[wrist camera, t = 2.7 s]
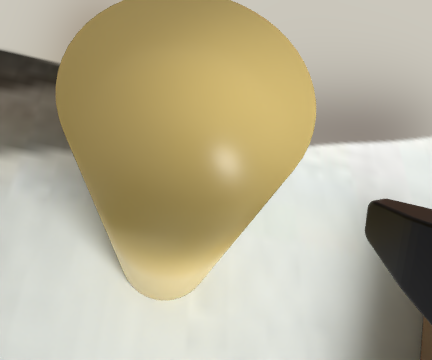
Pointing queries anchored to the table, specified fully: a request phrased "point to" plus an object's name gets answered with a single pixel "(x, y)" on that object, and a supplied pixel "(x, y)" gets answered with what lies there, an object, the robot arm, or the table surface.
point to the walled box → (426, 341)
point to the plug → (182, 129)
